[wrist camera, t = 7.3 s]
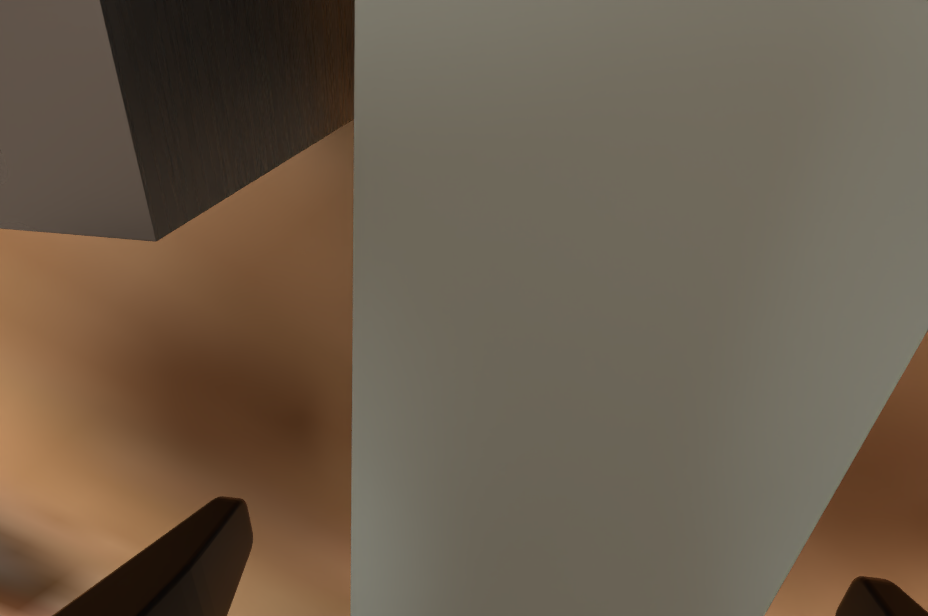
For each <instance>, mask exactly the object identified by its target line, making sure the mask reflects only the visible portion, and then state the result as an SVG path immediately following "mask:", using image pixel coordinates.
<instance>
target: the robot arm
mask: <svg viewBox="0 0 928 616" xmlns="http://www.w3.org/2000/svg"><path fill="white" fill-rule="evenodd" d="M252 543H253V532H252V527H251V522H250V517H249V512H248V507H247V504H246V502H245V501H244V500H243V499H240V498H232V497H224V496H222V497H217V498H215V499H213V500H212V501H210V502H209V503H208V504H206V505H205V506H204V507H202V508H201V509H199V510H198V511H197V512H195V513H194V514H192V515H191V516H190V517H188V518H187V519H186V520H184V521H183V522H181V523H180V524H179V525H177V526H176V527H174V528H173V529H172V530H170V531H169V532H168V533H166V534H165V535H163V536H162V537H161V538H159V539H158V540H156V541H155V542H154V543H152V544H151V545H149V546H148V547H147V548H145V549H144V550H143V551H141V552H140V553H138V554H137V555H136V556H134V557H133V558H131V559H130V560H129V561H127V562H126V563H125V564H123V565H122V566H120V567H119V568H118V569H116V570H115V571H113V572H112V573H111V574H109V575H108V576H107V577H105V578H104V579H102V580H101V581H100V582H98V583H97V584H95V585H94V586H93V587H91V588H90V589H88V590H87V591H86V592H84V593H83V594H82V595H80V596H79V597H77V598H76V599H75V600H73V601H72V602H70V603H69V604H68V605H66V606H65V607H64V608H62V609H61V610H59V611H58V612H57V613H55V614H54V615H52V616H227V614H228V611H229V609H230V606H231V603H232V600H233V598H234V595H235V592H236V590H237V587H238V584H239V581H240V579H241V576H242V573H243V570H244V568H245V565H246V562H247V560H248V557H249V554H250V551H251V548H252ZM835 616H928V612H927V611H926V610H924V609H923V608H922V607H921V606H920V605H919V604H918V603H916V602H915V601H914V600H913V599H912V598H911V597H910V596H908V595H907V594H906V593H905V592H904V591H903V590H902V589H900V588H899V587H898V586H897V585H895V584H894V583H892V582H891V581H889V580H886V579H880V578H872V577H864V576H860V577H857V578H855V579H854V580H853V581H852V583H851V585H850V587H849V588H848V590H847V592H846V594H845V596H844V598H843V599H842V601H841V603H840V605H839V607H838V609H837V611H836V615H835Z"/></svg>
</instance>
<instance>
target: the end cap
mask: <svg viewBox="0 0 928 616" xmlns="http://www.w3.org/2000/svg"><path fill="white" fill-rule="evenodd" d="M354 57H355V0H0V228H2V229H14V230H25V231H37V232H49V233H61V234H73V235H85V236H97V237H108V238H120V239H132V240H144V241H158V240H159V239H161V238H162V237H164V236H166V235H167V234H169V233H171V232H172V231H174V230H175V229H177V228H179V227H180V226H182V225H183V224H185V223H187V222H188V221H190V220H192V219H193V218H195V217H196V216H198V215H200V214H201V213H203V212H204V211H206V210H208V209H209V208H211V207H213V206H214V205H216V204H217V203H219V202H221V201H222V200H224V199H225V198H227V197H229V196H230V195H232V194H234V193H235V192H237V191H238V190H240V189H242V188H243V187H245V186H246V185H248V184H250V183H251V182H253V181H255V180H256V179H258V178H259V177H261V176H263V175H264V174H266V173H267V172H269V171H271V170H272V169H274V168H275V167H277V166H279V165H280V164H282V163H284V162H285V161H287V160H288V159H290V158H292V157H293V156H295V155H296V154H298V153H300V152H301V151H303V150H305V149H306V148H308V147H309V146H311V145H313V144H314V143H316V142H317V141H319V140H321V139H322V138H324V137H326V136H327V135H329V134H330V133H332V132H334V131H335V130H337V129H338V128H340V127H342V126H343V125H345V124H347V123H348V122H350V121H351V120H353V119H354Z"/></svg>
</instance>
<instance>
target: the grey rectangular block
mask: <svg viewBox="0 0 928 616" xmlns="http://www.w3.org/2000/svg"><path fill="white" fill-rule="evenodd" d="M927 331H928V0H355V57H354V199H353V342H352V485H351V616H764V615H765V613H766V612H767V610H768V608H769V606H770V605H771V603H772V601H773V599H774V598H775V596H776V594H777V592H778V591H779V589H780V587H781V585H782V584H783V582H784V580H785V578H786V577H787V575H788V573H789V571H790V570H791V568H792V566H793V564H794V563H795V561H796V559H797V557H798V556H799V554H800V552H801V550H802V549H803V547H804V545H805V543H806V542H807V540H808V538H809V536H810V535H811V533H812V531H813V530H814V528H815V526H816V524H817V523H818V521H819V519H820V517H821V516H822V514H823V512H824V510H825V509H826V507H827V505H828V503H829V502H830V500H831V498H832V496H833V495H834V493H835V491H836V489H837V488H838V486H839V484H840V482H841V481H842V479H843V477H844V475H845V474H846V472H847V470H848V468H849V467H850V465H851V463H852V461H853V460H854V458H855V456H856V454H857V453H858V451H859V449H860V448H861V446H862V444H863V442H864V441H865V439H866V437H867V435H868V434H869V432H870V430H871V428H872V427H873V425H874V423H875V421H876V420H877V418H878V416H879V414H880V413H881V411H882V409H883V407H884V406H885V404H886V402H887V400H888V399H889V397H890V395H891V393H892V392H893V390H894V388H895V386H896V385H897V383H898V381H899V379H900V378H901V376H902V374H903V372H904V371H905V369H906V367H907V365H908V364H909V362H910V360H911V359H912V357H913V355H914V353H915V352H916V350H917V348H918V346H919V345H920V343H921V341H922V339H923V338H924V336H925V334H926V332H927Z"/></svg>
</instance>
